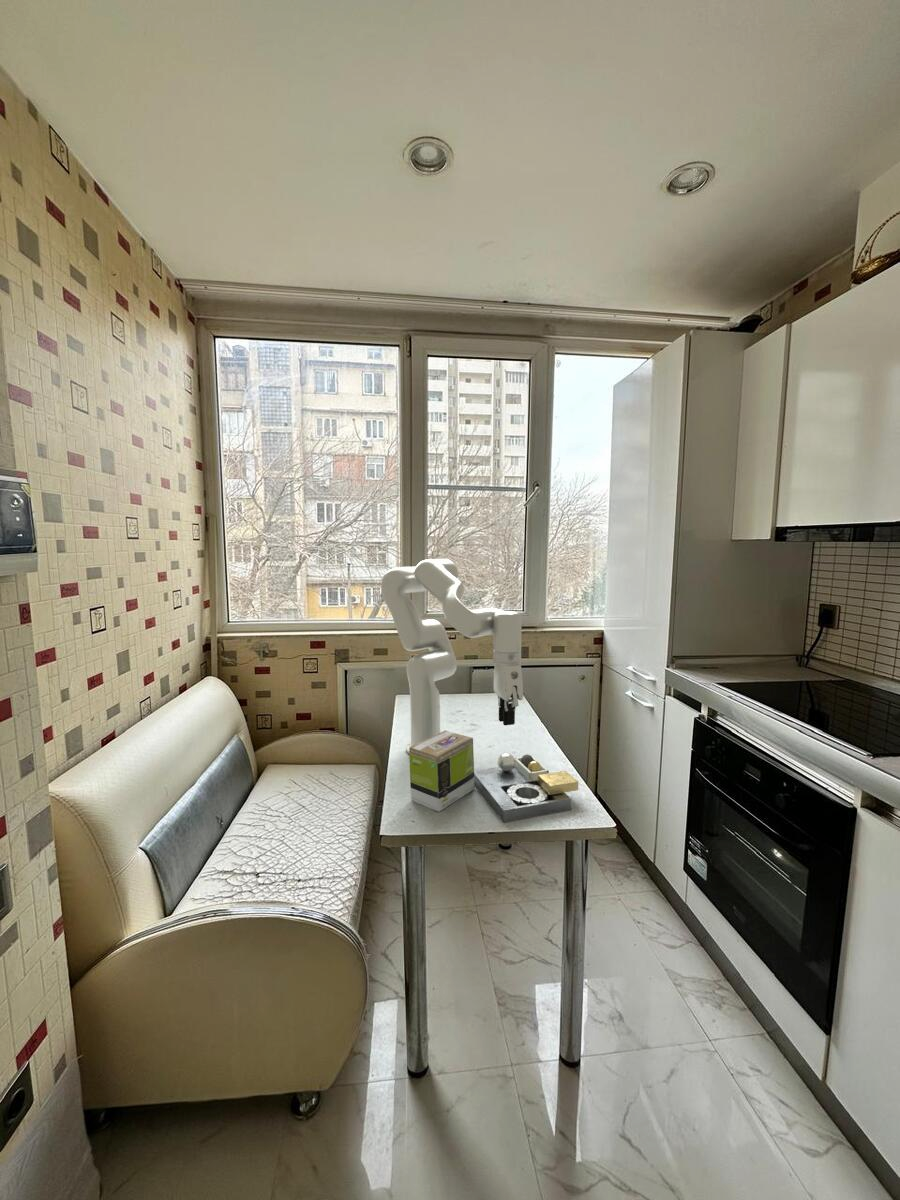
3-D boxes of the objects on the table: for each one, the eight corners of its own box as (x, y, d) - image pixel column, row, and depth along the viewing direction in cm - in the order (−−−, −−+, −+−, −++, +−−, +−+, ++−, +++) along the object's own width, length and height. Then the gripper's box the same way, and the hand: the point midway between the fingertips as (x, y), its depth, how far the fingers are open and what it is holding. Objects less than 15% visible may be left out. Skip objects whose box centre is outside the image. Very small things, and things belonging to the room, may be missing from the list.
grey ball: (518, 765, 140) (519, 753, 139) (530, 763, 141) (530, 751, 140) (524, 770, 136) (524, 758, 136) (535, 768, 137) (536, 756, 137)
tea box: (446, 779, 139) (446, 728, 137) (475, 790, 133) (475, 737, 131) (409, 800, 127) (408, 745, 126) (438, 813, 121) (438, 755, 120)
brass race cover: (538, 783, 129) (538, 774, 129) (565, 779, 131) (565, 770, 131) (549, 794, 123) (549, 786, 123) (578, 790, 125) (578, 781, 125)
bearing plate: (472, 781, 138) (472, 770, 137) (531, 772, 143) (531, 762, 143) (503, 822, 117) (503, 810, 116) (571, 810, 122) (571, 798, 122)
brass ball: (525, 771, 136) (525, 759, 135) (537, 770, 137) (537, 758, 136) (531, 777, 132) (531, 764, 132) (543, 775, 133) (543, 763, 133)
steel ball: (494, 768, 139) (494, 751, 138) (511, 766, 140) (511, 749, 140) (501, 776, 134) (501, 758, 133) (518, 773, 135) (518, 756, 135)
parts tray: (514, 765, 141) (514, 758, 140) (531, 762, 142) (531, 755, 142) (530, 781, 131) (530, 773, 131) (548, 778, 132) (548, 770, 132)
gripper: (533, 662, 127) (532, 731, 129) (507, 650, 142) (507, 712, 144) (506, 664, 125) (505, 734, 127) (483, 651, 140) (483, 714, 142)
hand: (506, 722), depth 136 cm, fingers closed
